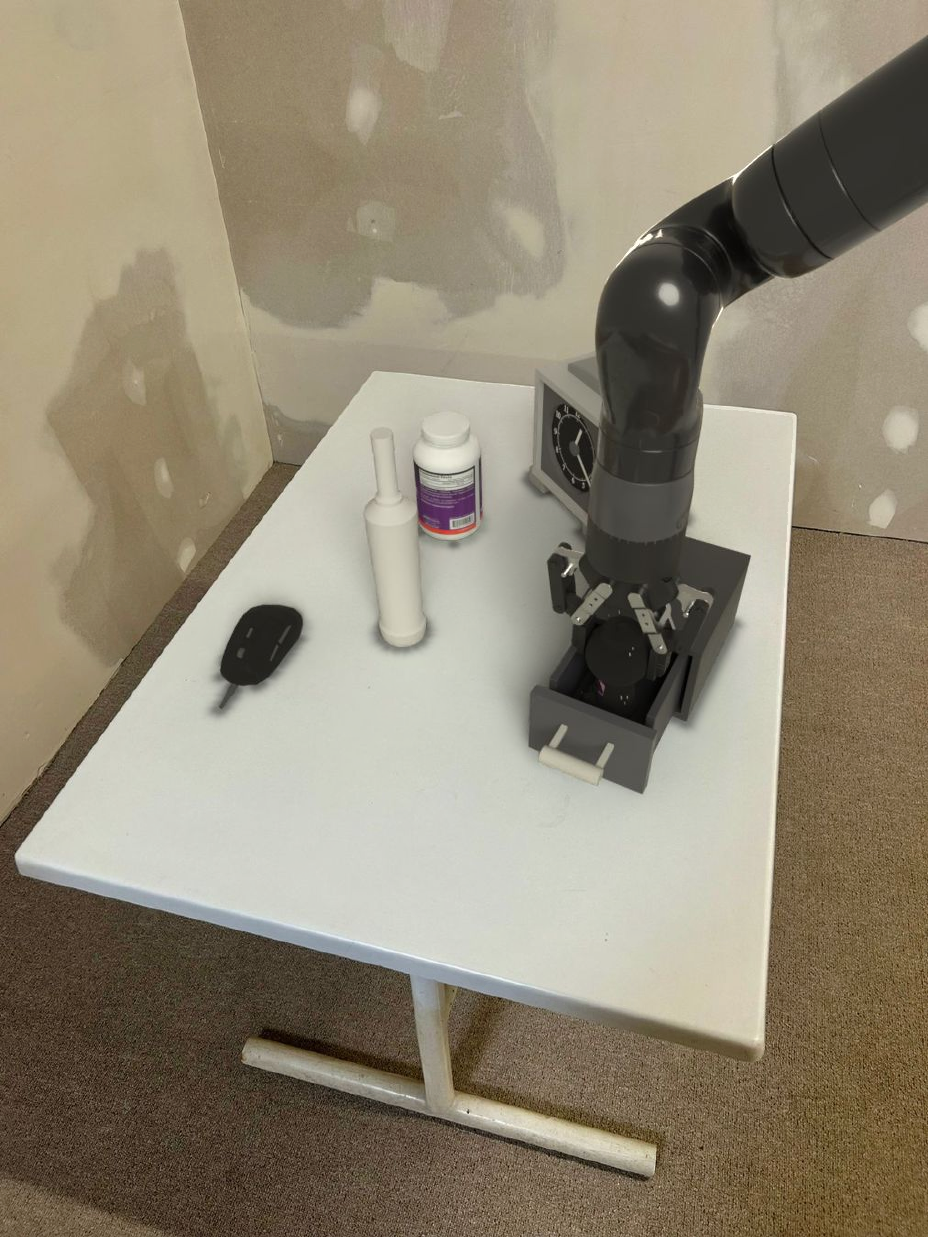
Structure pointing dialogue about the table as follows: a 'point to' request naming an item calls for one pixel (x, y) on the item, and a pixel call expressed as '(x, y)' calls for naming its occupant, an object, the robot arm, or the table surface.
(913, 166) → the robot arm
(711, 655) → the grey drawer cabinet
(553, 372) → the alarm clock
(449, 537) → the pill bottle
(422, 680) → the table surface
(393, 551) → the bottle
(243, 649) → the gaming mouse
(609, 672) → the gumball machine
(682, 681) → the open grey drawer
